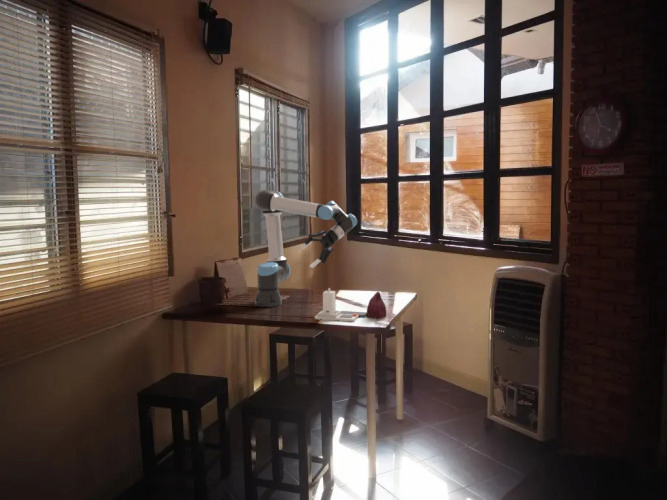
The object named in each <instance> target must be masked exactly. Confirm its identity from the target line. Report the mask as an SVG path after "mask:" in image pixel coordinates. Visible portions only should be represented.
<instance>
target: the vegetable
mask: <svg viewBox="0 0 667 500" xmlns="http://www.w3.org/2000/svg"><path fill="white" fill-rule="evenodd" d="M366 312H367V316H366V317H367V318H369V319H384V318H383V317H385V318H386V317H387V307H386V304H385V302H384V300H383V298H382V295H381V292H380V291H376V292H375V294H374V295H373V296H372V297H371V298H370V300H369V302H368V305H367V308H366Z"/></svg>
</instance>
